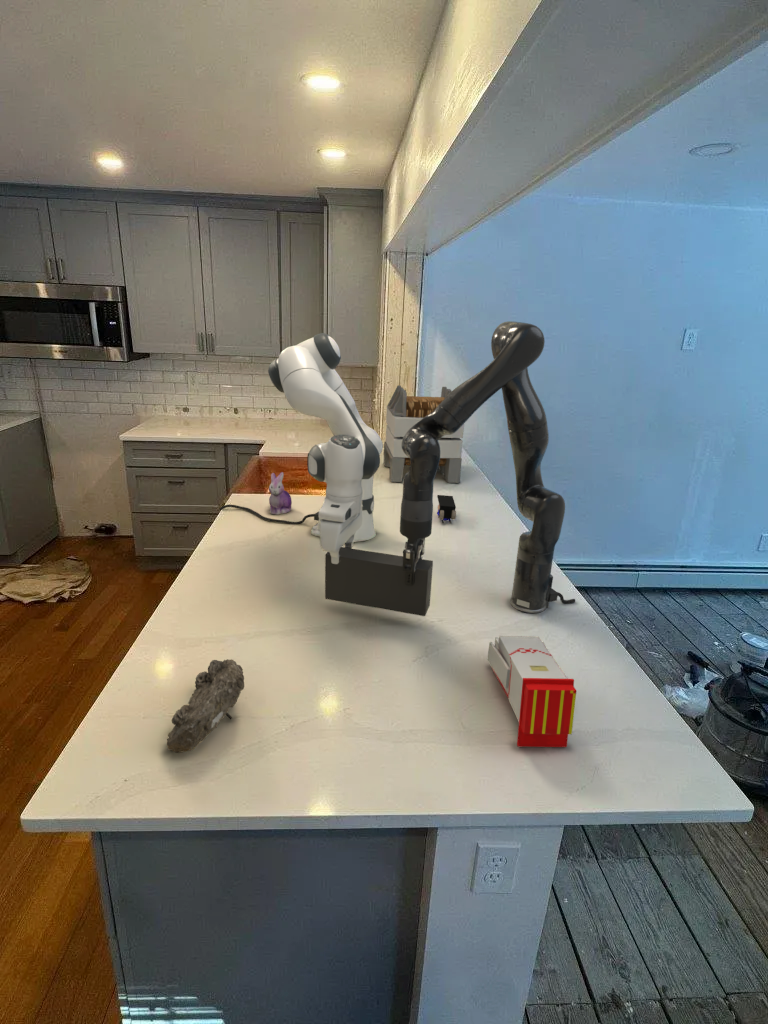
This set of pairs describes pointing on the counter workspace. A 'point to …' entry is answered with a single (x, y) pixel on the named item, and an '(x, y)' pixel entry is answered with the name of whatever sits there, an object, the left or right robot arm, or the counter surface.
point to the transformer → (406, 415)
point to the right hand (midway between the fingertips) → (412, 579)
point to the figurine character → (446, 508)
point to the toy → (534, 690)
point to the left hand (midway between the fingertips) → (342, 555)
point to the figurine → (278, 496)
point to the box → (377, 581)
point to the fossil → (206, 705)
